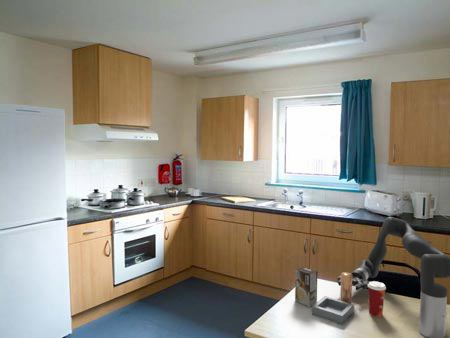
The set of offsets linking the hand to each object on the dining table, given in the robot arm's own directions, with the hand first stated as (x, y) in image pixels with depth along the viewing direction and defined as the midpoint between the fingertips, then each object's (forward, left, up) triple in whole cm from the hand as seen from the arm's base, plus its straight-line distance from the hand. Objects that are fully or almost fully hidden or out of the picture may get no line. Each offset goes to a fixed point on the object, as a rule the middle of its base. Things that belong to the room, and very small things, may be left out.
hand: (347, 286), depth 176 cm
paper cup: (-15, +5, -8) cm, 17 cm away
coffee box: (+15, +15, -8) cm, 23 cm away
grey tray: (0, +18, -7) cm, 19 cm away
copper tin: (0, +2, -8) cm, 8 cm away
